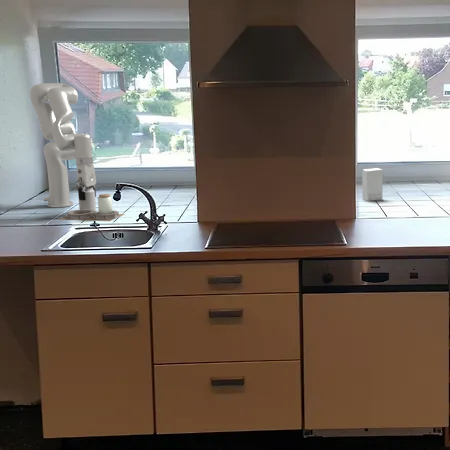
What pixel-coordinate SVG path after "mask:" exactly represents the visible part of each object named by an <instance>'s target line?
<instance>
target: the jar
mask: <svg viewBox="0 0 450 450" xmlns="http://www.w3.org/2000/svg"><path fill="white" fill-rule="evenodd" d="M112 197H113V196H112V195H111V194H110V193H102V194H98V197H97V205H98V206H97V208H98V211H99V214H112V213H113V211H114V210H113V200H112V199H113V198H112Z"/></svg>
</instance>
